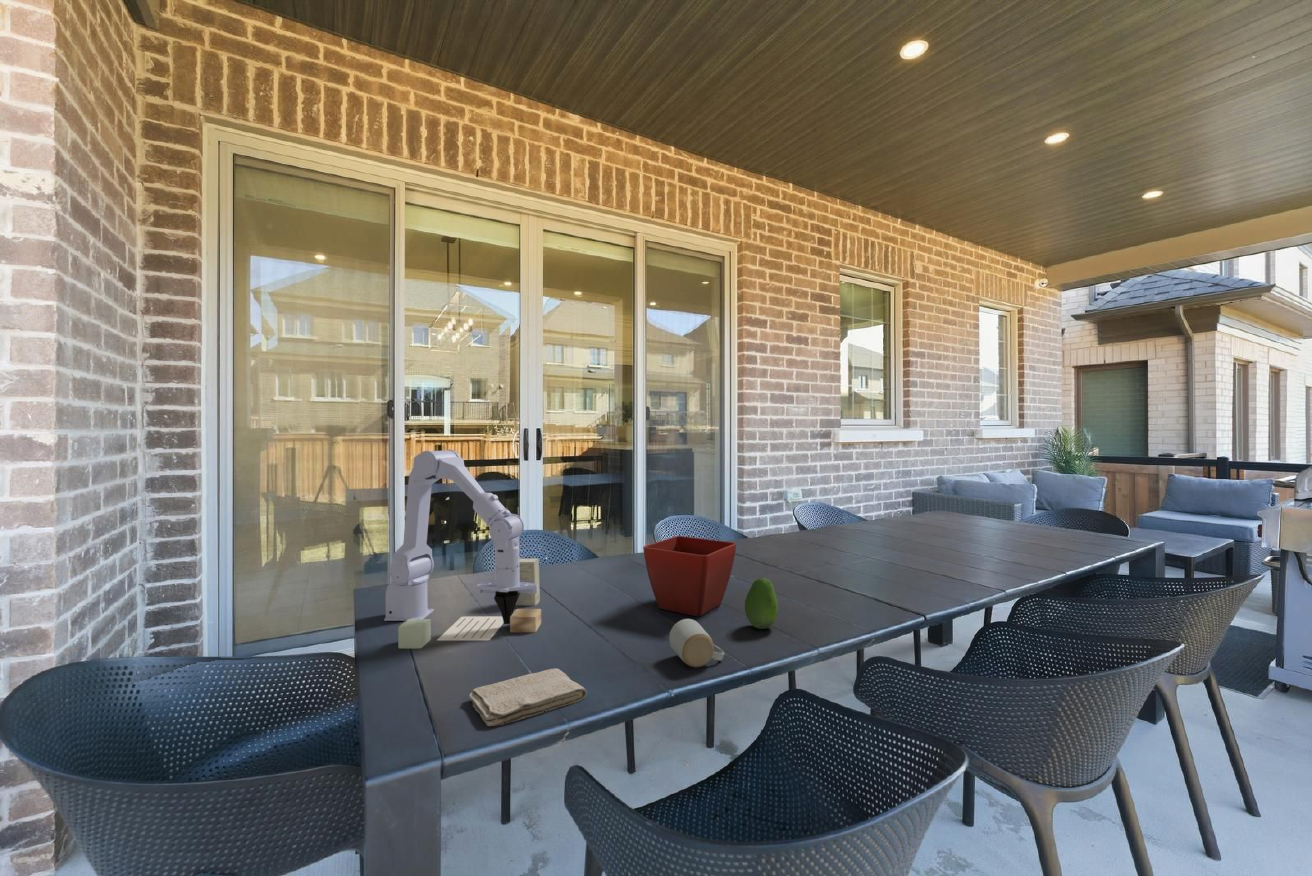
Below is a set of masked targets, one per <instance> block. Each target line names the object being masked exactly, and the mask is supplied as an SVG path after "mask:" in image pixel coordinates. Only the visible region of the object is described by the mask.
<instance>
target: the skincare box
mask: <svg viewBox="0 0 1312 876" xmlns="http://www.w3.org/2000/svg"><path fill="white" fill-rule="evenodd" d="M519 569H520V582H525V583H538V592H537V594H533V593H520V595H519V597H518V599H517V602H516V605H515V606H528V607H529V606H530V607H531V606H533V607H535V606H537V605H538V604H539V602H540V601H541V597H540V596H541V592H540V590H541V589H540V587H541V586H540V560H539V557H537V558H536V557H535V558H533V557H532V558H530V557H529V558H527V557H523V558H521V557H519Z"/></svg>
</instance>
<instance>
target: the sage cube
mask: <svg viewBox="0 0 1312 876" xmlns="http://www.w3.org/2000/svg"><path fill="white" fill-rule="evenodd" d="M431 621H432V620H431V619H430V618H424V619H408V620H407V621H403V622H402V623H401V624H400V625H399V626H397V627H398V628H397V633H398V634H397V635H398V638H397V640H398V642H397V643H398V649H423V647H424V646H426V644H428V643H429V642H430V641H431V640H432V634H431V631H432V628H431V627H432V625H431V623H432V622H431Z"/></svg>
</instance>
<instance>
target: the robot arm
mask: <svg viewBox="0 0 1312 876" xmlns="http://www.w3.org/2000/svg"><path fill="white" fill-rule="evenodd" d="M464 461H465V460H464V459H463V458H462V457H461V456H460V455H459V454H458V452H457V451H455V450H454V449H446V450H424V451H421V452H420V453H418V454H417V455H415V456H414V457H413V465H412V469H411V471H410V473H409V476H408V484H407V495H406V509H405V519H404V531H403V540H402V541H403V542H402V543H403V544H401V546H399V548H398V549H397V550H396V551H395V552H394V553H393V558H392V562H391V564H390V565H389V570H388V571H389V576H390V579H391V582H390V583H389V584H388V585H387V587H386V589H385V590H386V591H385V617H384V622H385V621H386V622H388V621H392V622H395V621H396V622H398V621H401V622H402V621H403V622H406V621H407V620H408V619H426V617H429V615H430V614H432V613H433V612H434V608H429V607H428V598H429V597H428V580H429V579H430V575H431V574H432V573H433V571H434V567H435V562H434V559H433V549H432V548H431V547H430V546H429V545H428V544H427V541H428V531H429V530H428V529H429V518H430V510H431V509H430V508H431V497H432V496H431V495H432V487H433V486H432V485H434V484H435V483H436V482H438V481H439V480H440V479H444V480H449V481H452V482H453V483H454V484H455V485H456V486H457V487H458V488H460V490H461V491H462V492H463V493H464V494H465V495H466V496H467V497H468V498H469V499H470V500H471V501H473V503H472V504H473V505H472V509H473V511H474V512H475V513H476V514H477V515H478V516H479V518H480V519H481V520H482V521H483V522H484V524H485V525H487V526H488V528H489V529H488V532H489V537H490V538H491V539H492V541H493V548H494V582H485V583H478V584H477V585H476V586H475V594H476V595H477V594H478V595H479V594H480V595H481V594H494V593H495V595H494V597H493V599H494V601H495V603H496V605H497V607H498V609H499V611H500V614H501V616H502V617H503V622H504V623H503V624H504V625H510V617H511V615H512V614H513V613H514V612H515V607H516V606H517V605H516V602H517V599H518V597H519V595H520V593H533V594H537V592H538V583H525V582H520V569H519V558H520V537H521V536H522V534H523V532H524V531H525V530H524V529H525V524H524V521H523V519H522V518H521V516H520V515H518V514H516V513H511V511H510V510H509V509H506V507H505V506H504V505H503V504H502V503H501V502H500V500H499V497H498V495H497V494H493V492H486V491H484V489H483V488H482V487H481V485H480V484H479V483H478V481H477V480H476V479H475V478H474V476H473V475H472V473H471V472H470V471H469V470H468V468H467V467H466V466H465V462H464Z"/></svg>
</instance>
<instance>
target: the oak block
mask: <svg viewBox="0 0 1312 876" xmlns="http://www.w3.org/2000/svg"><path fill="white" fill-rule="evenodd" d="M541 624H542V609H541V608H517V609H514V611H513V614H512V615H511V617H510V624H509V633H536V632H537V631H538V629H539V628H540V626H541Z"/></svg>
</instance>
